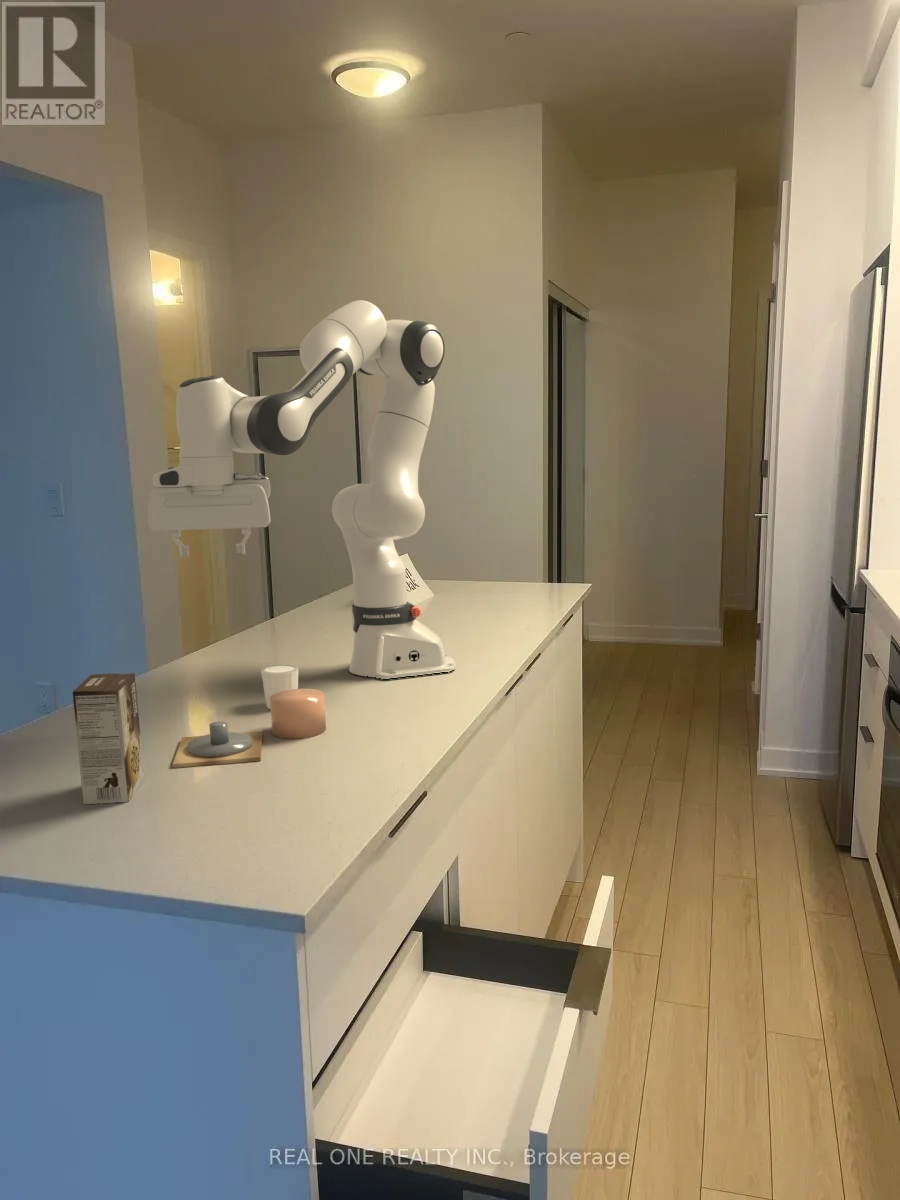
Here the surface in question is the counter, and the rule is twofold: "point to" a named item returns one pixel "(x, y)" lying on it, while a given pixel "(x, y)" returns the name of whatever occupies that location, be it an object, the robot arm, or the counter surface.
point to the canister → (298, 713)
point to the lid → (219, 742)
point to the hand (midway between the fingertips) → (212, 555)
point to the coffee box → (108, 738)
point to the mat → (247, 756)
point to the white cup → (279, 680)
